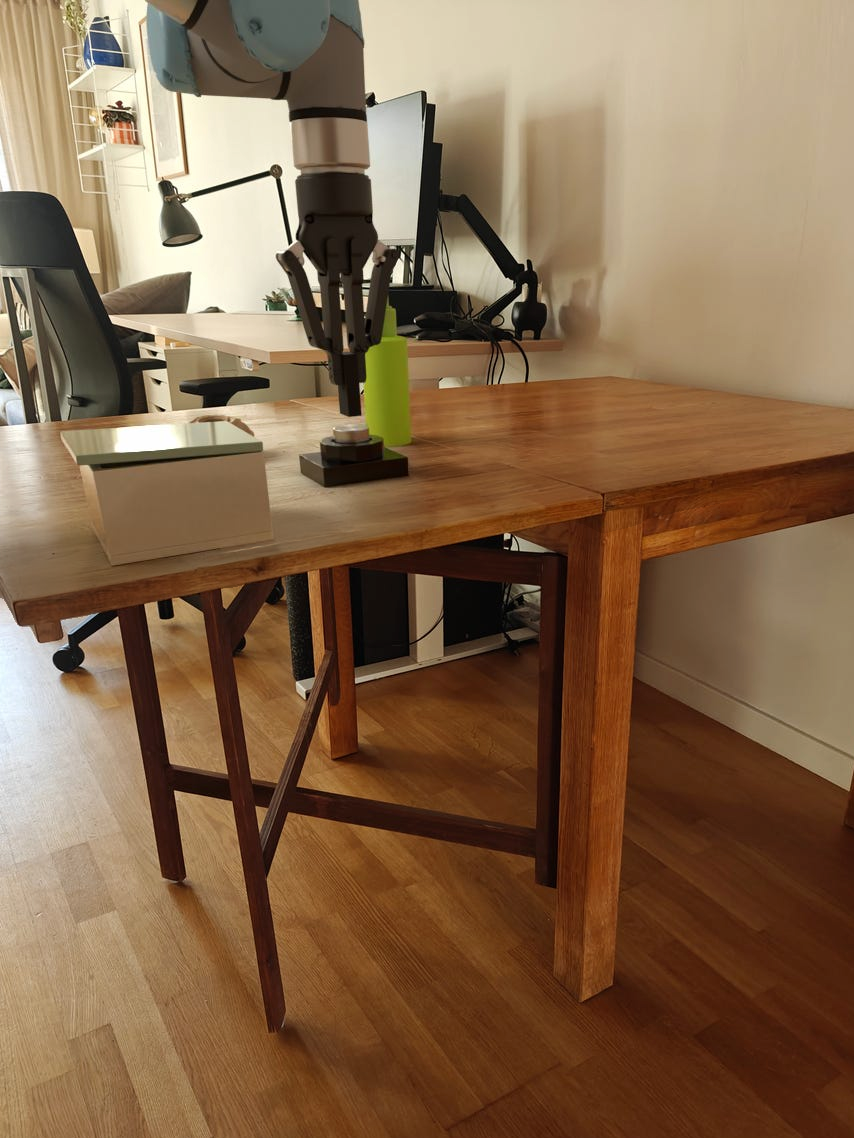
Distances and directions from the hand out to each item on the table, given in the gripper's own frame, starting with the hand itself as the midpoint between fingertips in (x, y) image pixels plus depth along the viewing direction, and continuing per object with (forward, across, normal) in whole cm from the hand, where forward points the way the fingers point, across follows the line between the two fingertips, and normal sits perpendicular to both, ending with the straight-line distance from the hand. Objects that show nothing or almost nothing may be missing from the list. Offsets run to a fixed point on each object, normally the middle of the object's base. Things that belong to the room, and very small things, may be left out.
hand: (350, 414), depth 95 cm
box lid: (-1, +23, +13) cm, 26 cm away
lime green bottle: (+7, -11, -15) cm, 20 cm away
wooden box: (+7, +22, +13) cm, 27 cm away
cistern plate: (+7, 0, 0) cm, 7 cm away
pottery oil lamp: (+7, +13, -16) cm, 22 cm away
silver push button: (+3, 0, 0) cm, 3 cm away
